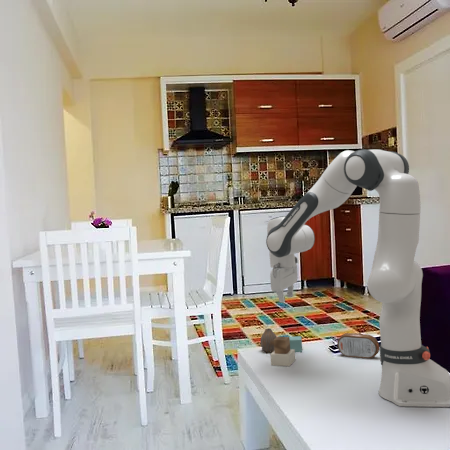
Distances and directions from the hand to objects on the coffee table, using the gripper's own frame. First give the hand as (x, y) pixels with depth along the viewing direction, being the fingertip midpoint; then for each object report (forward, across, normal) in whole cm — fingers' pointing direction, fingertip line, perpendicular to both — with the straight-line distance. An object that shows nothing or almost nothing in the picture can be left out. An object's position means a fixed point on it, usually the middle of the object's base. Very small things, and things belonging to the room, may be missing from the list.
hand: (286, 299), depth 184 cm
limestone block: (+23, 0, +4) cm, 23 cm away
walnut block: (+19, 0, +3) cm, 19 cm away
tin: (+24, +10, -22) cm, 34 cm away
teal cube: (+23, +15, +3) cm, 28 cm away
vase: (+23, +13, +13) cm, 29 cm away
